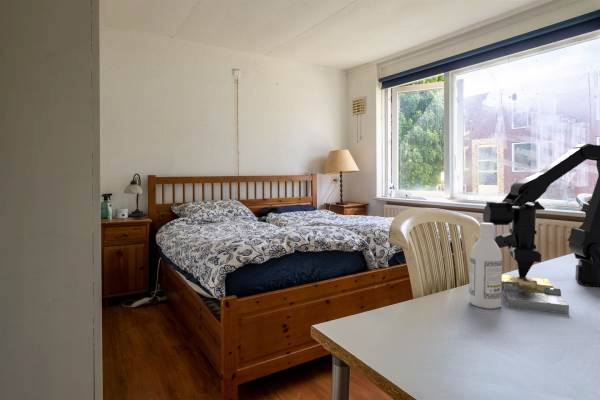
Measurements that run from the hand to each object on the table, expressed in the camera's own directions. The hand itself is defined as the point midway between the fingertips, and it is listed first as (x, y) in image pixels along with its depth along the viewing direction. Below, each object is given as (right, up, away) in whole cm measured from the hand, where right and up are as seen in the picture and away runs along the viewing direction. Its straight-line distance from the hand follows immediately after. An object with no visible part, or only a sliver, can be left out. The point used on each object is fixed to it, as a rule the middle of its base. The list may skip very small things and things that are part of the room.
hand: (521, 278), depth 106 cm
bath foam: (-19, -3, -16) cm, 25 cm away
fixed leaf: (-7, -3, -17) cm, 18 cm away
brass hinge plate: (-2, -2, -5) cm, 6 cm away
